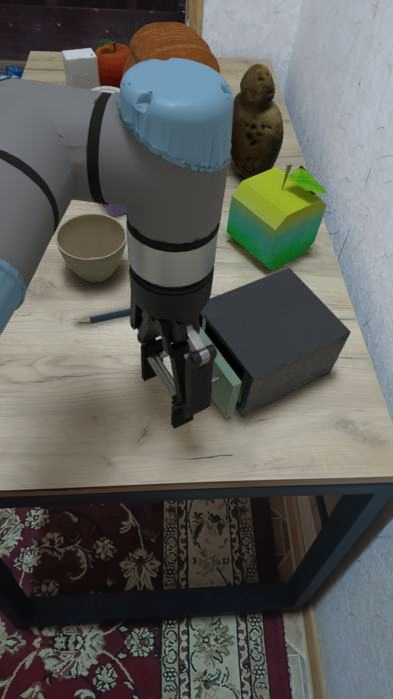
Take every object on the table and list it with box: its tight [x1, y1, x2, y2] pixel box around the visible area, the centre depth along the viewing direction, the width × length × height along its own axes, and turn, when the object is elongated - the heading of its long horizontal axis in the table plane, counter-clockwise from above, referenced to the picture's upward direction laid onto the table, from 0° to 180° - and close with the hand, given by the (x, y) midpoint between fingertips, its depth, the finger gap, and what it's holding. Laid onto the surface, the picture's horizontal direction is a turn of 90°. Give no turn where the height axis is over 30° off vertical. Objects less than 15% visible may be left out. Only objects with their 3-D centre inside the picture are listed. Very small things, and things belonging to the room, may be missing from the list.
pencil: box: [78, 308, 130, 324], centre depth 71 cm, size 1×1×15 cm
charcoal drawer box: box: [198, 267, 352, 419], centre depth 64 cm, size 15×13×9 cm
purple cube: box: [102, 204, 127, 218], centre depth 84 cm, size 4×4×4 cm
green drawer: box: [147, 318, 248, 419], centre depth 62 cm, size 20×11×7 cm, turn 121°
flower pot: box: [54, 212, 127, 283], centre depth 73 cm, size 10×10×7 cm
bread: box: [122, 21, 221, 78], centre depth 97 cm, size 18×22×17 cm
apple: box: [225, 164, 329, 271], centre depth 76 cm, size 11×10×15 cm
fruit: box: [94, 38, 131, 89], centre depth 108 cm, size 10×10×10 cm
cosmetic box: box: [61, 47, 101, 90], centre depth 99 cm, size 6×4×12 cm
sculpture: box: [230, 63, 285, 179], centre depth 86 cm, size 13×8×20 cm, turn 11°
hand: (166, 397), depth 61 cm, fingers closed on green drawer, 7 cm apart
